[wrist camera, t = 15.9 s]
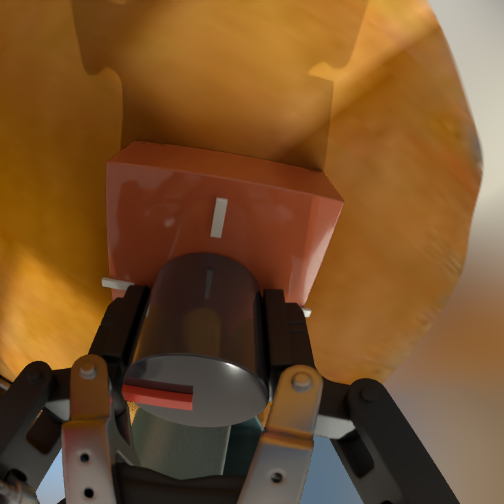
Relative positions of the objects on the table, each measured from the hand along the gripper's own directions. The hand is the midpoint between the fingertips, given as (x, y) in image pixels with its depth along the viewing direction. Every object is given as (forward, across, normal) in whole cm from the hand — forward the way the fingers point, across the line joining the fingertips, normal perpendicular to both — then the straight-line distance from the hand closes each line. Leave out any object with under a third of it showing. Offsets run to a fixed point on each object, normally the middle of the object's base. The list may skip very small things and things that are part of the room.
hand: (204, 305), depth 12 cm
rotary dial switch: (+3, 0, 0) cm, 3 cm away
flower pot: (0, +7, +17) cm, 18 cm away
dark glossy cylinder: (0, 0, 0) cm, 0 cm away
